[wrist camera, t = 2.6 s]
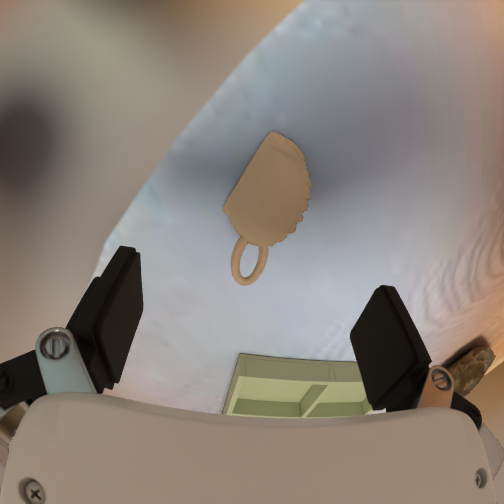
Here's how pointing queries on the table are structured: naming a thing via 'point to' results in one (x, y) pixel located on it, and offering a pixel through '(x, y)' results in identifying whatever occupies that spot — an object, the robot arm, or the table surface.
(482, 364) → the stone
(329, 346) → the table surface
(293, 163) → the decorative ornament
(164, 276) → the table surface
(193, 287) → the table surface
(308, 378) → the grid
